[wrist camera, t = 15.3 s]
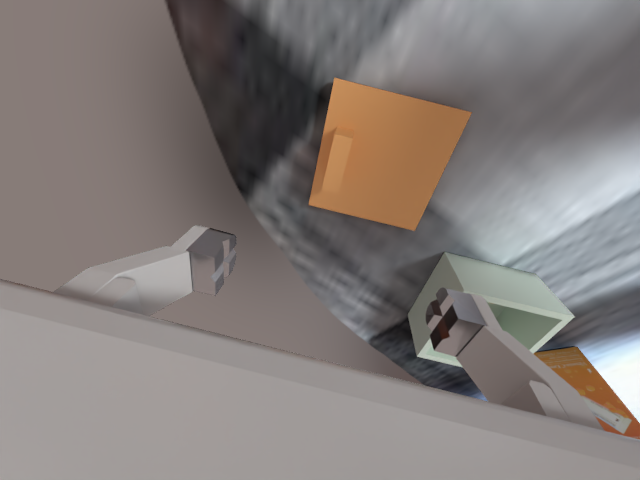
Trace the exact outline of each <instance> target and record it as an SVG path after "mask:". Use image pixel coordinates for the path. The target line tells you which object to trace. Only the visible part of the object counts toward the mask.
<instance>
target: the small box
mask: <svg viewBox="0 0 640 480" xmlns="http://www.w3.org/2000/svg"><path fill="white" fill-rule="evenodd" d="M534 355H535V356H536V357H538V358H539V359H540V360H541V361H542V362H543V363H545V364H546V365H547V366H548V367H549V368H551V369H552V370H553V371H554V372H555V373H557V374H558V375H559V376H560V377H561V378H562V379H564V380H565V381H566V382H567V383H568V384H570V385H571V386H572V387H573V388H574V389H576V390H577V391H578V393H579V394H580V396H581V397H582V398H583V400H584V401H585V403H586V404H587V406H588V407H589V409H590V410H591V411H592V413H593V414H594V416H595V417H596V419H597V420H598V422H599V423H600V425H601V426H602V427H603V429H604V430H605V431H607V432H611V433H615V434H619V435H623V436H627V437H631V438H635V439H639V440H640V423H639V422H638V421H637V419H636V418H635V417H634V416H633V414H632V413H631V412H630V411H629V410H628V408H627V407H626V406H625V405H624V403H623V402H622V401H621V400H620V399H619V397H618V396H617V395H616V394H615V392H614V391H613V390H612V389H611V387H610V386H609V385H608V384H607V383H606V381H605V380H604V379H603V378H602V376H601V375H600V374H599V373H598V371H597V370H596V369H595V368H594V367H593V365H592V364H591V363H590V362H589V361H588V359H587V358H586V357H585V356H584V355H583V353H582V352H581V351H580V350H579V348H578V347H571V348H565V349H558V350H550V351H543V352H536V353H534Z"/></svg>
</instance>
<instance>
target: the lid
mask: <svg viewBox="0 0 640 480" xmlns="http://www.w3.org/2000/svg"><path fill="white" fill-rule="evenodd" d="M471 114H472V112H469V111H465V110H461V109H457V108H453V107H449V106H445V105H441V104H437V103H433V102H429V101H425V100H421V99H417V98H413V97H409V96H405V95H401V94H397V93H393V92H389V91H385V90H381V89H377V88H373V87H370V86H366V85H362V84H358V83H354V82H350V81H346V80H342V79H338V78H334V82H333V87H332V92H331V97H330V102H329V107H328V112H327V117H326V122H325V126H324V131H323V136H322V141H321V146H320V151H319V156H318V161H317V166H316V171H315V176H314V180H313V185H312V190H311V195H310V200H309V205H311V206H315V207H319V208H323V209H327V210H331V211H335V212H339V213H344V214H348V215H352V216H356V217H360V218H364V219H368V220H372V221H376V222H380V223H385V224H389V225H393V226H397V227H401V228H405V229H409V230H413V231H415V229H416V227H417V225H418V223H419V221H420V219H421V217H422V215H423V213H424V211H425V209H426V207H427V205H428V202H429V200H430V198H431V196H432V194H433V192H434V190H435V188H436V186H437V184H438V182H439V180H440V178H441V176H442V174H443V171H444V169H445V167H446V165H447V163H448V161H449V159H450V157H451V155H452V153H453V151H454V149H455V147H456V145H457V142H458V140H459V138H460V136H461V134H462V132H463V130H464V128H465V126H466V124H467V122H468V120H469V118H470V116H471Z"/></svg>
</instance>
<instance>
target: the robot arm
mask: <svg viewBox="0 0 640 480" xmlns="http://www.w3.org/2000/svg"><path fill="white" fill-rule="evenodd" d="M235 245H236V236H235V235H234V234H230V233H227V232H223V231H219V230H215V229H212V228H208V227H204V226H200V225H195V226H193V227H192V228H191V229H190V230H189V231H188V232H186V233H185V234H184V235H183V236H182V237H181V238H180V239H178V240H177V241H176V242H175V243H174V244H173V245H172V246H171V247H168V246H164V247H160V248H157V249H153V250H149V251H146V252H142V253H139V254H135V255H132V256H128V257H125V258H121V259H118V260H114V261H110V262H106V263H103V264H99V265H96V266H92V267H89V268H87V269H86V270H84V271H83V272H81V273H80V274H78V275H77V276H75V277H74V278H73V279H71V280H70V281H68V282H67V283H65V284H64V285H63V286H61V287H60V288H58V289H57V290H55V291H54V292H50V291H46V290H42V289H38V288H34V287H30V286H26V285H23V284H18V283H14V282H11V281H7V280H2V279H0V480H640V440H639V439H635V438H631V437H627V436H623V435H619V434H615V433H611V432H607V431H605V430H604V429H603V427H602V426H601V425H600V423H599V422H598V420H597V419H596V417H595V416H594V414H593V413H592V411H591V410H590V409H589V407H588V406H587V404H586V403H585V401H584V400H583V398H582V397H581V396H580V394H579V393H578V391H577V390H576V389H574V388H573V387H572V386H571V385H570V384H568V383H567V382H566V381H565V380H564V379H562V378H561V377H560V376H559V375H558V374H557V373H555V372H554V371H553V370H552V369H551V368H549V367H548V366H547V365H546V364H545V363H543V362H542V361H541V360H540V359H539V358H538V357H536V356H535V355H534V354H533V353H532V352H530V351H529V350H528V349H527V348H526V347H525V346H523V345H522V344H521V343H520V342H519V341H517V340H516V339H515V338H514V337H513V336H511V335H510V334H509V333H508V332H506V331H503V330H502V328H501V327H500V325H499V323H498V321H497V320H496V318H495V316H494V314H493V313H492V311H491V309H490V307H489V305H488V304H487V302H486V300H485V299H484V298H483V297H482V296H479V295H474V294H470V293H464V292H459V291H455V290H451V289H447V288H443V287H442V288H440V289H439V290H438V292H437V293H436V297H437V299H436V300H434V301H432V302H430V304H429V306H428V307H427V311H426V323H427V326H428V327H429V328H430V330H431V331H432V333H431V334H430V339H431V342H432V346H433V349H434V351H436V352H440V353H444V354H447V355H451V356H454V357H456V359H457V360H458V362H459V363H460V364H461V365H462V367H463V368H464V369H465V371H466V372H467V373H468V375H469V376H470V377H471V379H472V380H473V381H474V383H475V384H476V385H477V387H478V388H479V389H480V391H481V392H482V393H483V395H484V396H485V397H486V399H487V400H488V401H489V402H488V401H484V400H480V399H476V398H472V397H468V396H464V395H460V394H456V393H452V392H448V391H444V390H440V389H436V388H432V387H428V386H424V385H420V384H416V383H412V382H408V381H404V380H400V379H396V378H392V377H388V376H384V375H381V374H377V373H373V372H369V371H365V370H361V369H357V368H353V367H349V366H345V365H341V364H337V363H333V362H329V361H325V360H321V359H317V358H313V357H309V356H305V355H301V354H297V353H293V352H288V351H285V350H281V349H277V348H273V347H269V346H265V345H261V344H257V343H253V342H249V341H245V340H241V339H237V338H233V337H229V336H225V335H221V334H217V333H213V332H210V331H205V330H202V329H197V328H194V327H190V326H185V325H182V324H178V323H174V322H170V321H166V320H162V319H158V318H154V317H150V315H152V314H154V313H155V312H157V311H159V310H161V309H163V308H164V307H166V306H168V305H170V304H172V303H174V302H175V301H177V300H179V299H181V298H183V297H184V296H186V295H188V294H190V293H192V292H193V291H197V292H201V293H205V294H210V295H214V296H215V295H216V294H217V293H218V291H219V290H220V288H221V287H222V285H223V283H224V278H225V277H227V276H229V275H230V273H231V271H232V269H233V267H234V264H235V260H236V253H235V251H234V250H233V248H234V247H235Z"/></svg>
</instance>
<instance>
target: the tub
mask: <svg viewBox="0 0 640 480" xmlns="http://www.w3.org/2000/svg"><path fill="white" fill-rule="evenodd" d="M442 287H443V288H447V289H451V290H455V291H459V292H464V293H470V294H474V295H479V296H482V297H483V298H484V299H485V300H486V302H487V304H488V305H489V307H490V309H491V311H492V313H493V314H494V316H495V318H496V320H497V321H498V323H499V325H500V327H501V328H502V330H503V331H506V332H508V333H509V334H510V335H511V336H513V337H514V338H515V339H516V340H517V341H519V342H520V343H521V344H522V345H523V346H525V347H526V348H527V349H528V350H529V351H530V352H532V353H533V354H534V353H535V352H536V351H537V350H538V349H539V348H540V347H541V346H543V345H544V344H545V343H546V342H547V341H548V340H549V339H551V338H552V337H553V336H554V335H555V334H556V333H557V332H558V331H560V330H561V329H562V328H563V327H564V326H565V325H566V324H567V323H569V322H570V321H571V320H572V319H573V318H574V317H575V316H574V315H573V314H572V313H571V312H570V311H569V310H568V309H567V308H566V306H565V305H564V304H563V303H562V302H561V301H560V300H559V299H558V298H557V297H556V296H555V295H554V294H553V292H552V291H551V290H550V289H549V288H548V287H547V286H546V285H545V284H544V283H543V282H542V281H541V280H540V278H539V277H538V276H537V275H536V274H533V273H529V272H525V271H521V270H517V269H513V268H509V267H505V266H500V265H496V264H492V263H488V262H484V261H480V260H476V259H472V258H468V257H463V256H459V255H455V254H451V253H447V252H444V254H443V255H442V257H441V259H440V260H439V262H438V264H437V265H436V267H435V269H434V271H433V272H432V274H431V276H430V277H429V279H428V281H427V282H426V284H425V286H424V287H423V289H422V291H421V293H420V294H419V296H418V298H417V299H416V301H415V303H414V304H413V306H412V308H411V310H410V311H409V313H408V319H409V323H410V328H411V332H412V337H413V341H414V346H415V350H416V354H417V357H422V358H426V359H430V360H434V361H438V362H443V363H447V364H451V365H455V366H460V367H462V365H461V364H460V363H459V362H458V360H457V359H456V357H454V356H451V355H447V354H444V353H440V352H436V351H434V349H433V346H432V342H431V339H430V334H431V333H432V331H431V330H430V328H429V327H428V326H427V323H426V311H427V307H428V306H429V304H430V302H432V301H434V300H436V299H437V297H436V293H437V292H438V290H439V289H440V288H442Z"/></svg>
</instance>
